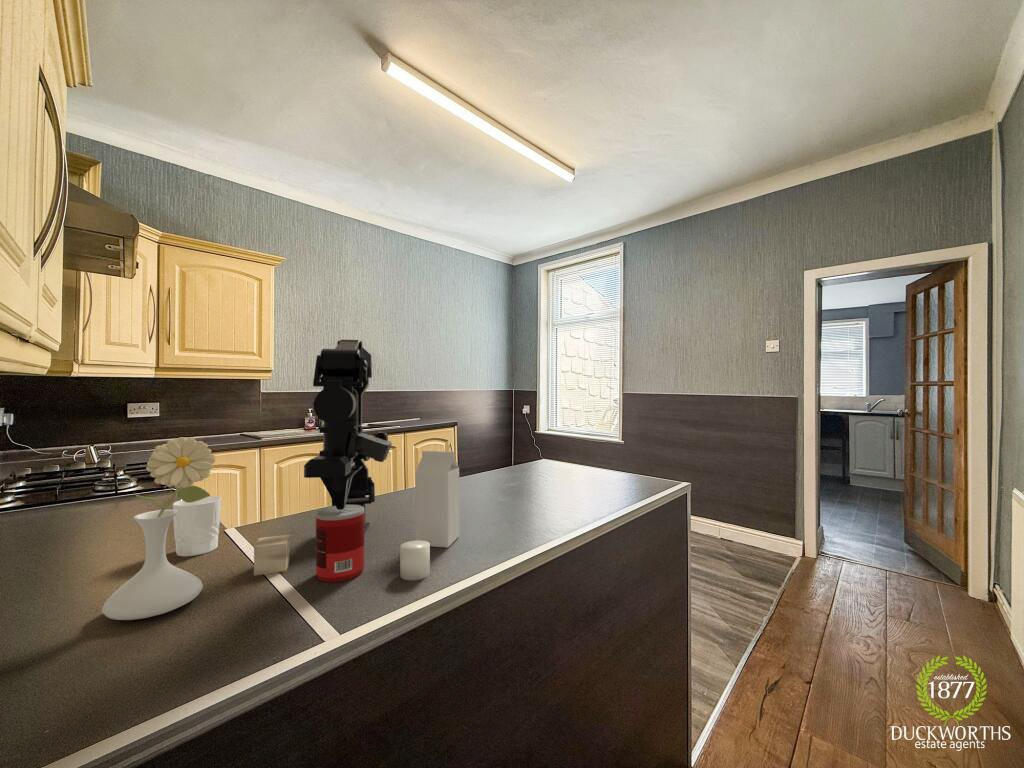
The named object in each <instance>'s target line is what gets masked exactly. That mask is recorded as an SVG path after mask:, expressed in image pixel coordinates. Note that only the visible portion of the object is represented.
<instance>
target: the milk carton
mask: <svg viewBox="0 0 1024 768" xmlns="http://www.w3.org/2000/svg"><path fill="white" fill-rule="evenodd" d="M459 537H460V466H459V465H458V463H457V460H456V458H455V451H443V450H442V451H440V450H439V451H438V450H435V451H434V450H422V451H421V458H420V461H419V462H418V465H417V467H416V471H415V540H422V541H427V542H429V543H430V547H431V548H432V547H435V548H449V547H450V546H451V545H452V544H453V543H454V542H455V541H456V540H457V539H458V538H459Z"/></svg>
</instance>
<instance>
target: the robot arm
mask: <svg viewBox="0 0 1024 768" xmlns="http://www.w3.org/2000/svg"><path fill="white" fill-rule="evenodd" d="M363 345H364V344H363V341H362V340H360V339H340V340H337V345H336V347H335V348H322V349H321V351H320V354H317V356H316V359H315V367H314V374H313V375H314V376H313V381H312V382H313V383H312V384H313V385H312V386H313V387H317V388H318V387H320V388H321V387H322V389H321V391H319V392H318V393H317V395H316V396H315V399H314V401H313V410H314V413H315V415H316V416H317V417H318V419H320V420H321V421H322V423H323V424H322V425H323V426H319V434H323V435H322V438H323V439H322V440H323V442H322V443H323V445H322V447H323V449H322V450H319V455H317V456H315V457H312V458H310V459H309V460H308V461H306V463H305V464H304V465H303V478H306V479H311V478H312V479H315V478H319V479H320V480H321V482H322V484H323V485H324V487H325V489H326V490H327V492H328V494H329V497H330V499H331V507H332V506H336V508H337V509H338V510H342V509H344V508H345V505H360V506H363V507H364V511H365V532H366V531H367V530H366V529H369V527H370V526H369V525H371V523H370V522H367V519H366V517H367V512H366V511H367V504H368V505H371V504H372V503H375V502H376V498H375V497H376V495H375V494H376V493H375V490H376V489H375V488H376V487H375V482H374V481H373V479H372V476H369V468H368V466H367V465H366V463H365V462H367V461H369V460H370V459H373V460H374V461H375V462H378V463H379V462H380V463H383V462H385V460H387V457H388V455H389V452H390V450H391V448H392V444H393V443H392V441H391V440H389V436H388V433H386V432H384V431H378V432H377V433H376V434H375V435H372V434H367V433H365V432H364V431H363V396H364V394H365V392H366V391H367V389H368V388H369V386H370V379H372V378H373V362H372V354H371V353H370V352H369V351H367V349H365V348H364V347H363ZM368 526H369V527H368Z"/></svg>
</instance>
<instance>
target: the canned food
mask: <svg viewBox="0 0 1024 768" xmlns="http://www.w3.org/2000/svg"><path fill="white" fill-rule="evenodd" d="M315 519H316V520H315V570H316V571H315V574H316V577H317V579H318V580H320V582H321V581H322V582H324V583H325V582H326V583H338V582H345V581H349V580H351V579H354V578H355V577H357V576H359V575H361V573H363V571H364V569H365V556H366V555H365V550H366V549H365V544H366V543H365V539H366V537H365V533H366V531H365V511H364V507H363V506H360V505H345V508H344V509H342V510H338V509H337V508H336V506H332V505H331V506H329V507H324V508H322V509H320V510H318V511H317V512H316V516H315Z"/></svg>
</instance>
